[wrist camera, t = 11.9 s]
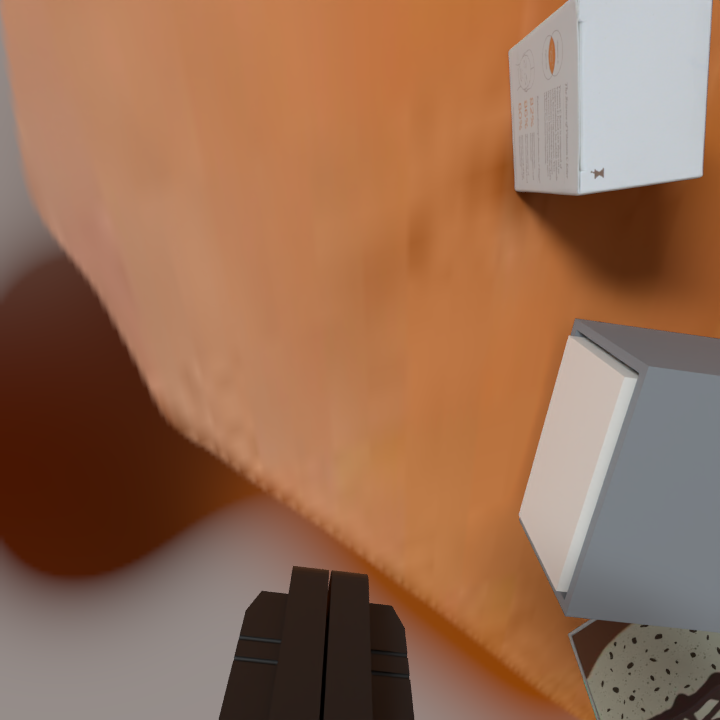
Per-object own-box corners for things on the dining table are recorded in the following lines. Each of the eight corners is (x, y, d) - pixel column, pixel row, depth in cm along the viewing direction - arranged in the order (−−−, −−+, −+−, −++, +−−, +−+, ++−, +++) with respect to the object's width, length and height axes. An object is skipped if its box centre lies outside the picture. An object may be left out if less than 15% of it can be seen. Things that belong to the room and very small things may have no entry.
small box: (602, 180, 34) (706, 182, 24) (511, 192, 34) (577, 200, 24) (603, 33, 31) (721, -32, 21) (506, 48, 31) (577, -11, 21)
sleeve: (519, 519, 42) (565, 616, 33) (575, 318, 37) (648, 366, 28) (693, 540, 43) (786, 640, 33) (772, 346, 37) (907, 401, 28)
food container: (595, 684, 47) (655, 811, 38) (553, 643, 46) (605, 766, 36) (719, 605, 45) (818, 722, 35) (679, 560, 43) (771, 669, 34)
